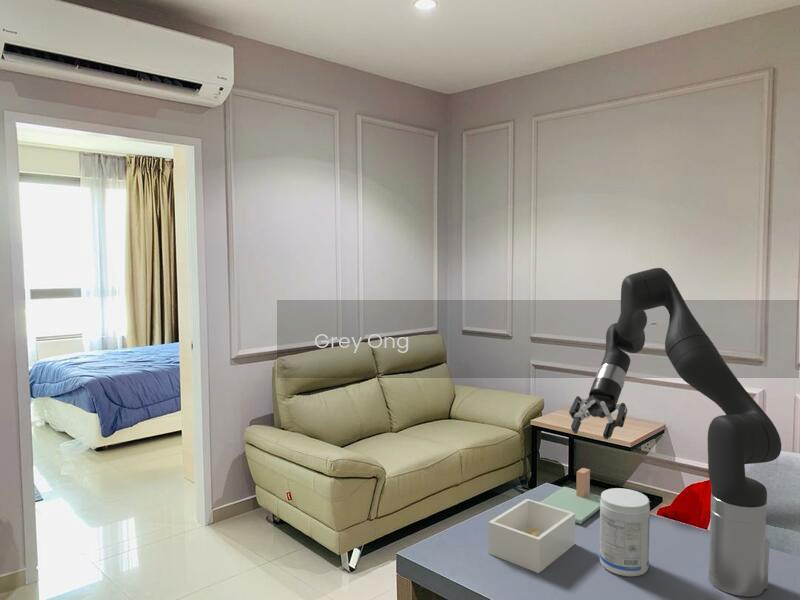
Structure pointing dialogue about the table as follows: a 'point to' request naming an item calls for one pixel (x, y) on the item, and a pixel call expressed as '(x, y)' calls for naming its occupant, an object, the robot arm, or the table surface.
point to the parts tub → (532, 534)
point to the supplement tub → (624, 531)
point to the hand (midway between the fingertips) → (589, 434)
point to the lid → (576, 498)
